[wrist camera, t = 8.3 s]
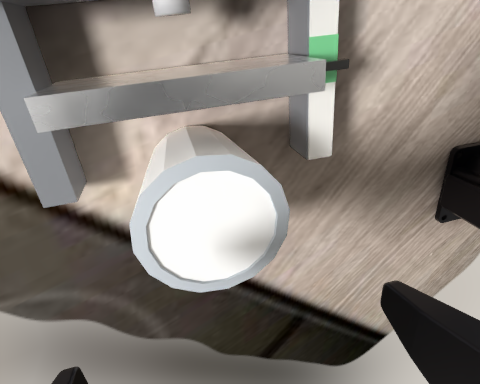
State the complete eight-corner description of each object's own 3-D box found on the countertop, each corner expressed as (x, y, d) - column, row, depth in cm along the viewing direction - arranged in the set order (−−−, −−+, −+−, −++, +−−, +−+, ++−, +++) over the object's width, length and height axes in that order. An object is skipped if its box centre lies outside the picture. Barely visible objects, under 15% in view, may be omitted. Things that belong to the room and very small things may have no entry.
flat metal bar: (328, 48, 17) (380, 52, 13) (327, 72, 17) (377, 83, 13) (58, 81, 14) (23, 98, 10) (67, 107, 15) (37, 132, 11)
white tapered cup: (261, 125, 19) (311, 167, 13) (236, 222, 22) (268, 294, 16) (143, 103, 17) (137, 141, 11) (132, 214, 20) (122, 294, 14)
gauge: (316, -37, 16) (376, -63, 12) (312, 142, 20) (356, 170, 16) (-24, -13, 13) (-110, -35, 9) (57, 186, 18) (25, 236, 13)
